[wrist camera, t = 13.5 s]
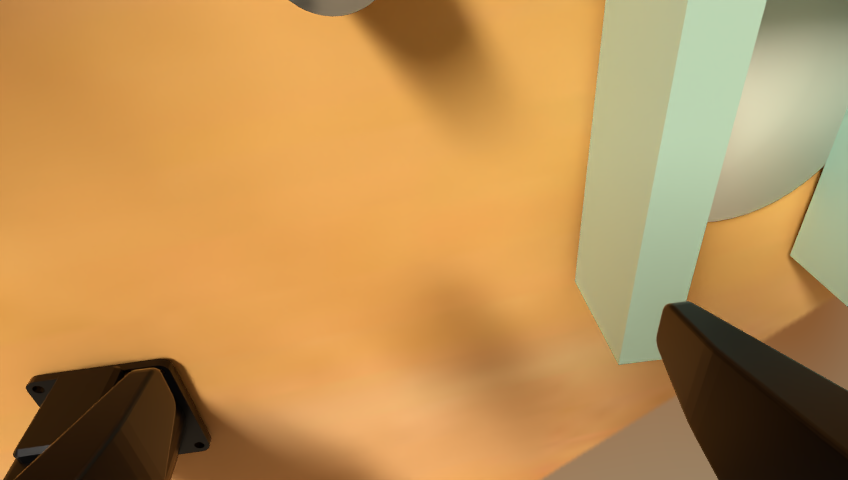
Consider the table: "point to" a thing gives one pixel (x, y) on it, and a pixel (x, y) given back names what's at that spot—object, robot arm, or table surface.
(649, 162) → the c link
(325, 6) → the peg
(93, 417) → the robot arm
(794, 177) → the cream oval dome
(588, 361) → the table surface
